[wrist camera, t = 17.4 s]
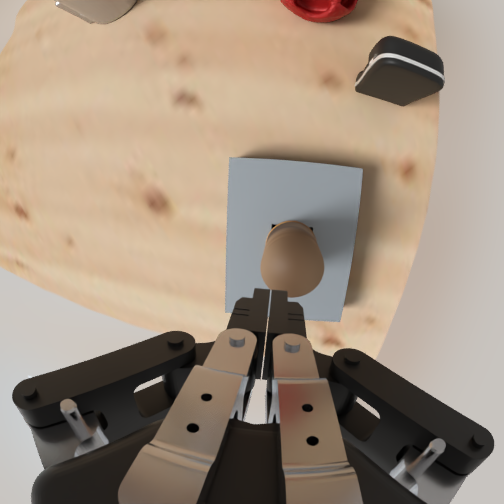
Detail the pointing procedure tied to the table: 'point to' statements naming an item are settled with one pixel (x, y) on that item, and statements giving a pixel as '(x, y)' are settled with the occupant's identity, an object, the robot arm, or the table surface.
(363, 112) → the table surface
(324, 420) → the robot arm
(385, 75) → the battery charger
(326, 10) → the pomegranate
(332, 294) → the board
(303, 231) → the peg
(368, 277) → the table surface
